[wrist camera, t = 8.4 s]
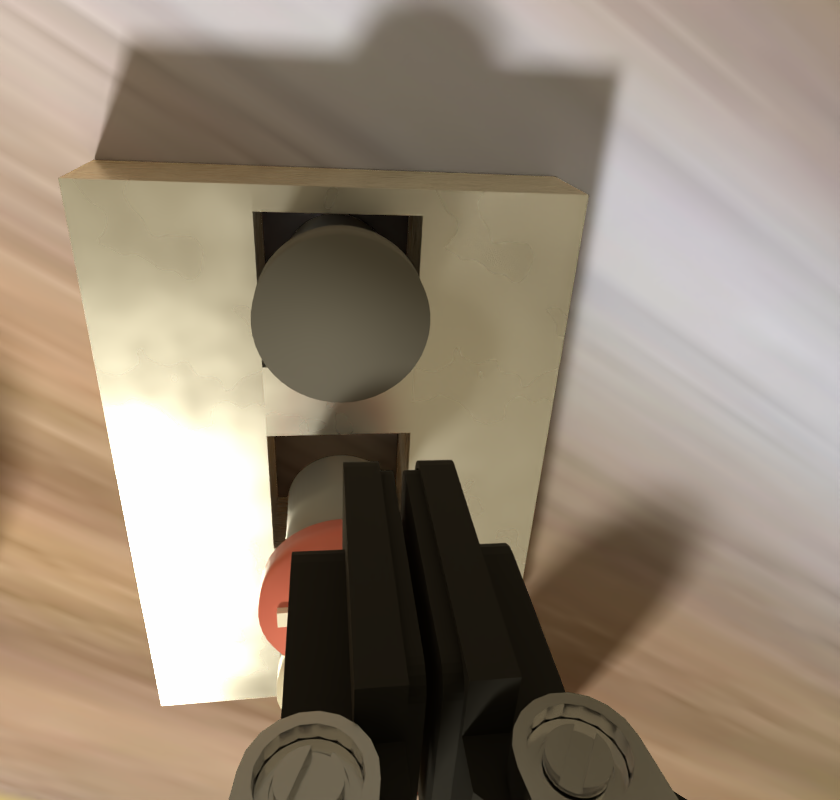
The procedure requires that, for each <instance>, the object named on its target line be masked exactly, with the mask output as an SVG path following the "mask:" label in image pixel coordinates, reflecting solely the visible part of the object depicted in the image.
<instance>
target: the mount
mask: <svg viewBox="0 0 840 800" xmlns="http://www.w3.org/2000/svg"><path fill="white" fill-rule="evenodd" d="M58 180H59V185H60V190H61V195H62V200H63V206H64V211H65V216H66V221H67V226H68V231H69V236H70V241H71V246H72V252H73V257H74V262H75V267H76V272H77V277H78V282H79V287H80V292H81V298H82V303H83V308H84V313H85V318H86V323H87V328H88V333H89V338H90V344H91V349H92V354H93V359H94V364H95V369H96V374H97V379H98V384H99V389H100V395H101V400H102V405H103V410H104V415H105V420H106V425H107V430H108V435H109V441H110V446H111V451H112V456H113V461H114V466H115V471H116V476H117V481H118V487H119V492H120V497H121V502H122V507H123V512H124V517H125V522H126V527H127V533H128V538H129V543H130V548H131V553H132V558H133V563H134V568H135V573H136V579H137V584H138V589H139V594H140V599H141V604H142V609H143V614H144V619H145V624H146V630H147V635H148V640H149V645H150V650H151V655H152V660H153V665H154V670H155V676H156V681H157V686H158V691H159V696H160V701H161V706H166V705H179V704H191V703H203V702H215V701H227V700H240V699H252V698H264V697H276V696H277V678H278V665H279V660H280V658H281V655H282V654H281V653H280V652H278V651H277V650H276V649H275V648H274V647H273V646H272V645H271V644H270V643H269V641H268V640H267V639H266V637H265V635H264V634H263V632H262V629H261V627H260V624H259V618H258V605H259V596H260V586H261V578H262V573H263V570H264V567H265V564H266V562H267V561H268V559H269V557H270V556H271V554H272V553H273V552H274V550H275V549H276V548H277V547H278V546H279V545H280V544H281V543H282V542H283V541H285V540H286V529H287V512H288V497H278V488H277V470H276V452H275V436H293V435H335V434H376V433H398V449H397V470H396V491H397V497H398V503H399V509H400V507H401V488H402V474H403V471H404V470H415V465H416V462H417V460H453V462H454V464H455V468H456V471H457V474H458V477H459V480H460V483H461V487H462V490H463V493H464V496H465V499H466V502H467V506H468V509H469V512H470V515H471V518H472V521H473V525H474V528H475V531H476V534H477V537H478V540H479V544H490V543H507V544H508V545H509V546H510V548H511V550H512V552H513V554H514V557H515V560H516V562H517V565H518V568H519V570H520V573H521V576H522V578H523V574H524V568H525V563H526V557H527V551H528V545H529V539H530V534H531V528H532V522H533V516H534V510H535V505H536V499H537V493H538V487H539V481H540V476H541V470H542V464H543V458H544V452H545V447H546V441H547V435H548V429H549V423H550V418H551V412H552V406H553V400H554V394H555V389H556V383H557V377H558V371H559V365H560V360H561V354H562V348H563V342H564V336H565V331H566V325H567V319H568V313H569V307H570V302H571V296H572V290H573V284H574V278H575V272H576V267H577V261H578V255H579V249H580V243H581V238H582V232H583V226H584V220H585V214H586V209H587V203H588V197H589V195H588V194H586V193H584V192H583V191H581V190H579V189H577V188H575V187H574V186H572V185H570V184H568V183H566V182H564V181H563V180H561V179H559V178H557V177H555V176H532V175H504V174H476V173H448V172H420V171H393V170H365V169H337V168H309V167H281V166H253V165H226V164H198V163H170V162H142V161H114V160H92V161H90V162H88V163H86V164H84V165H82V166H80V167H79V168H77V169H75V170H73V171H71V172H69V173H67V174H65V175H63V176H61V177H59V178H58ZM262 212H294V213H333V214H372V215H409V216H408V237H407V257H408V259H409V260H410V261H411V263H412V264H413V266H414V268H415V269H416V271H417V273H418V276H419V278H420V280H421V282H422V285H423V287H424V289H425V291H426V295H427V298H428V302H429V307H430V331H429V336H428V340H427V344H426V346H425V349H424V351H423V353H422V356H421V357H420V359H419V361H418V362H417V364H416V365H415V367H414V368H413V369H412V370H411V372H410V373H409V374H408V375H407V376H406V377H405V378H404V379H403V380H402V381H400V382H399V383H398V384H396V385H395V386H394V387H392V388H390V389H389V390H387V391H385V392H384V393H381V394H379V395H377V396H375V397H371V398H368V399H365V400H360V401H355V402H345V403H338V402H327V401H320V400H317V399H313V398H309V397H307V396H305V395H302V394H300V393H298V392H296V391H294V390H292V389H291V388H289V387H288V386H286V385H285V384H284V383H282V382H281V381H280V380H279V379H278V378H277V377H275V376H274V375H273V374H272V372H271V371H270V370H269V369H268V368H267V366H266V365H265V363H264V362H263V360H262V359H261V357H260V355H259V353H258V351H257V348H256V346H255V343H254V340H253V336H252V330H251V307H252V301H253V297H254V293H255V289H256V285H257V282H258V279H259V276H260V274H261V272H262V270H263V268H264V266H265V258H264V240H263V222H262Z"/></svg>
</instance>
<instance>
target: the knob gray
mask: <svg viewBox="0 0 840 800" xmlns="http://www.w3.org/2000/svg"><path fill="white" fill-rule="evenodd" d="M251 330H252V336H253V340H254V343H255V346H256V348H257V351H258V353H259V355H260V357H261V359H262V360H263V362H264V363H265V365H266V366H267V368H268V369H269V370H270V371H271V372H272V374H273V375H274V376H275V377H277V378H278V379H279V380H280V381H281V382H282V383H284V384H285V385H286V386H288V387H289V388H291V389H292V390H294V391H296V392H298V393H300V394H302V395H305V396H307V397H309V398H313V399H317V400H320V401H327V402H338V403H345V402H355V401H360V400H365V399H368V398H371V397H375V396H377V395H379V394H381V393H384V392H385V391H387V390H389V389H390V388H392V387H394V386H395V385H396V384H398V383H399V382H400V381H402V380H403V379H404V378H405V377H406V376H407V375H408V374H409V373H410V372H411V370H412V369H413V368H414V367H415V365H416V364H417V362H418V361H419V359H420V357H421V356H422V353H423V351H424V349H425V346H426V344H427V340H428V336H429V331H430V307H429V302H428V298H427V295H426V291H425V289H424V287H423V285H422V282H421V280H420V278H419V276H418V273H417V271H416V269H415V268H414V266H413V264H412V263H411V261H410V260H409V259H408V257H407V256H406V255H405V254H404V253H403V252H402V251H401V250H400V249H399V248H398V247H397V246H396V245H395V244H393V243H392V242H391V241H389V240H388V239H386V238H385V237H383V236H381V235H379V234H377V233H376V231H375V230H374V229H373V228H372V227H370V226H369V225H368V224H366V223H365V222H364V221H362V220H360V219H358V218H355V217H353V216H349V215H345V214H326V215H321V216H318V217H315V218H313V219H311V220H309V221H307V222H306V223H304V224H303V225H302V226H301V227H299V228H298V229H297V231H296V232H295V233H294V234H293V235H292V237H291V239H290V240H289V241H287V242H286V243H285V244H283V245H282V246H281V247H280V248H279V249H278V250H277V251H276V252H275V253H274V254H273V255H272V256H271V257H270V259H269V260H268V262H267V263H266V265H265V266H264V268H263V270H262V272H261V274H260V276H259V279H258V282H257V285H256V289H255V293H254V297H253V301H252V307H251Z"/></svg>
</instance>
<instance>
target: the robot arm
mask: <svg viewBox="0 0 840 800" xmlns="http://www.w3.org/2000/svg"><path fill="white" fill-rule="evenodd" d="M417 793H418V798H419V800H686V799H685V798H683V797H682V796H680V795H679V794H677V793H676V792H674V791H673V790H672V788H671V787H670V785H669V783H668V782H667V780H666V779H665V777H664V775H663V774H662V772H661V771H660V769H659V767H658V766H657V764H656V763H655V761H654V759H653V758H652V756H651V755H650V753H649V751H648V750H647V748H646V747H645V745H644V743H643V742H642V740H641V738H640V737H639V735H638V734H637V733H636V732H635V730H634V729H633V728H632V727H631V725H630V724H629V723H628V722H627V721H626V719H625V718H623V717H622V716H621V715H620V714H618V713H617V712H616V711H614V710H613V709H612V708H611V707H609V706H608V705H606V704H604V703H602V702H600V701H598V700H595V699H593V698H591V697H589V696H585V695H580V694H575V693H570V692H565V690H564V687H563V684H562V682H561V679H560V676H559V674H558V671H557V669H556V666H555V663H554V661H553V658H552V655H551V653H550V650H549V647H548V645H547V642H546V639H545V637H544V634H543V631H542V629H541V626H540V623H539V621H538V618H537V615H536V613H535V610H534V607H533V605H532V602H531V599H530V597H529V594H528V591H527V589H526V586H525V584H524V581H523V578H522V576H521V573H520V570H519V568H518V565H517V562H516V560H515V557H514V554H513V552H512V550H511V548H510V546H509V545H508V544H507V543H490V544H479V540H478V537H477V534H476V531H475V528H474V525H473V521H472V518H471V515H470V512H469V509H468V506H467V502H466V499H465V496H464V493H463V490H462V487H461V483H460V480H459V477H458V474H457V471H456V468H455V464H454V462H453V460H417V462H416V465H415V470H404V471H403V474H402V488H401V507H400V509H399V503H398V497H397V491H396V485H395V479H394V474H393V471H380V466H379V462H378V461H373V462H343V508H342V550H319V551H295V552H292V556H291V569H290V585H289V601H288V617H287V633H286V649H285V665H284V681H283V697H282V713H281V719H280V720H278V721H277V722H275V723H274V724H272V725H271V726H269V727H268V728H266V729H265V730H264V731H262V732H261V733H260V734H259V735H258V736H257V737H256V739H255V740H254V741H253V742H252V743H251V745H250V746H249V747H248V748H247V749H246V751H245V753H244V755H243V758H242V760H241V762H240V764H239V767H238V769H237V771H236V775H235V779H234V782H233V786H232V790H231V793H230V797H229V800H417Z"/></svg>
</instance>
